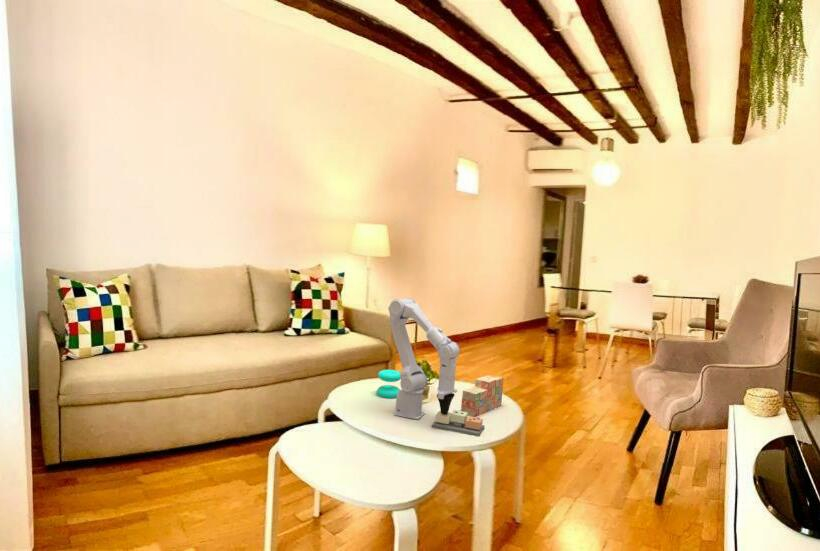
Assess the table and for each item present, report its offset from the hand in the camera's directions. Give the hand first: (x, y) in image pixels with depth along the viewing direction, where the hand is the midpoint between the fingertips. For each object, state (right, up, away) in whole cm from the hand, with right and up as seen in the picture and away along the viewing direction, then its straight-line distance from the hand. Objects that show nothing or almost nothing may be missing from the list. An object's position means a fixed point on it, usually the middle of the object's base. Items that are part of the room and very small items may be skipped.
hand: (444, 413), depth 183 cm
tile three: (+10, -4, -3) cm, 11 cm away
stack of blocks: (+16, -5, +21) cm, 27 cm away
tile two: (+5, -2, -2) cm, 6 cm away
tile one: (0, -3, 0) cm, 3 cm away
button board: (+5, -5, -2) cm, 7 cm away
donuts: (-21, -1, +32) cm, 39 cm away
